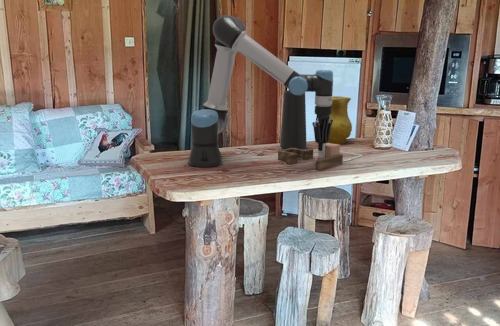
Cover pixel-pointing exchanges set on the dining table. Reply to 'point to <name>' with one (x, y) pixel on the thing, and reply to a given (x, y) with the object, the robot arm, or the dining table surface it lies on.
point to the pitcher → (339, 120)
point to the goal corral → (348, 153)
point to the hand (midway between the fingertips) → (321, 157)
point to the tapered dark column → (293, 121)
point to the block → (331, 150)
